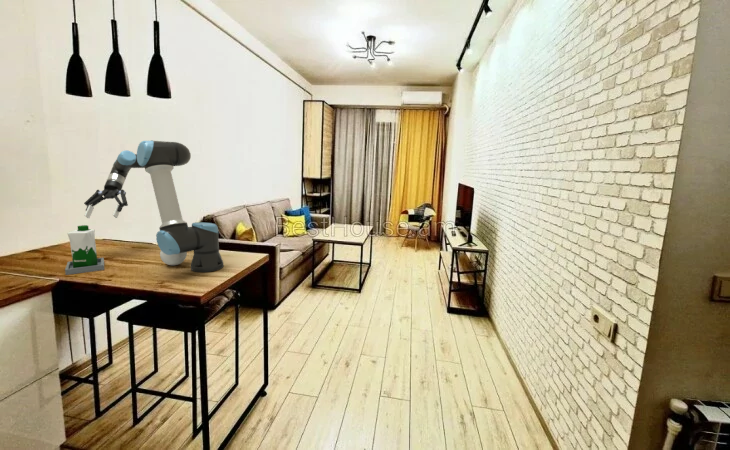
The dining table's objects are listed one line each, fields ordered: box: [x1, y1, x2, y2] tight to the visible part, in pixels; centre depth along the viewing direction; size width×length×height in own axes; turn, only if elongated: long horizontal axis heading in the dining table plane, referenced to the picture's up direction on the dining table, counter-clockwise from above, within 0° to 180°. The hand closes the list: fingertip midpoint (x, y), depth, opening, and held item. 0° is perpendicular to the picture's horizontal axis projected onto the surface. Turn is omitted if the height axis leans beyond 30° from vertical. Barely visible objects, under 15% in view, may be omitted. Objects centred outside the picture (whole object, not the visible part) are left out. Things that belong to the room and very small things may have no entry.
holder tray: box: [64, 257, 105, 276], centre depth 164 cm, size 14×14×2 cm
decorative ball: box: [159, 250, 188, 266], centre depth 173 cm, size 12×12×12 cm
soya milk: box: [67, 224, 98, 268], centre depth 162 cm, size 9×9×20 cm
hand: (100, 216), depth 172 cm, fingers open, 13 cm apart
